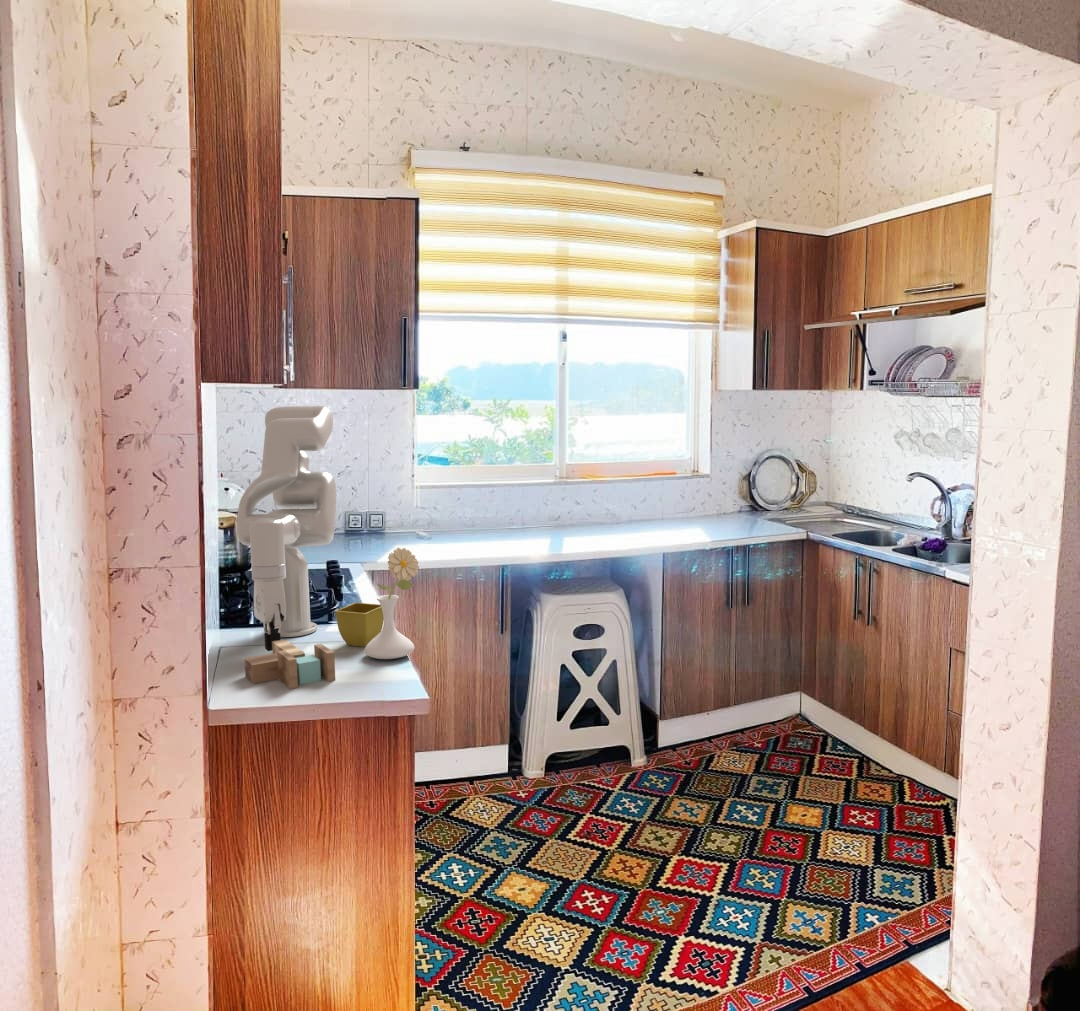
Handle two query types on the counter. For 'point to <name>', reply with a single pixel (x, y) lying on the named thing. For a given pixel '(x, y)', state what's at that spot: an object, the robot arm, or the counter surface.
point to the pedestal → (261, 668)
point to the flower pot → (359, 623)
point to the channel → (289, 665)
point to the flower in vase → (389, 638)
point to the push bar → (286, 648)
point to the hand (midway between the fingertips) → (273, 649)
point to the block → (308, 669)
